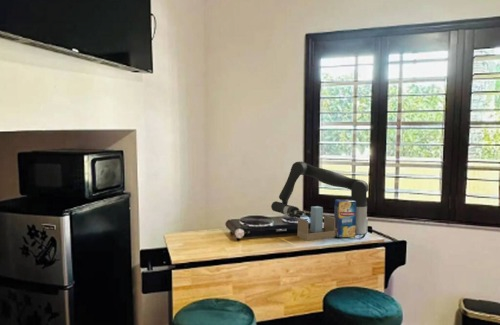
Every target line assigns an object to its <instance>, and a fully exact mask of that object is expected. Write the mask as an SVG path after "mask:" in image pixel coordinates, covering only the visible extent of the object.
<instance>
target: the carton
mask: <svg viewBox="0 0 500 325" xmlns="http://www.w3.org/2000/svg"><path fill="white" fill-rule="evenodd" d="M323 227H324V228H322V232H319V233H310V228H309V220H306V219H303V218H301V217H300V218H297V232H296V233H297V238H300V239H301V240H304V241H306V242H310V241H316V240H325V239H333V238H336V235H335V218H334V217H331V216H329V215H324V214H323Z"/></svg>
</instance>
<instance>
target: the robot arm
mask: <svg viewBox="0 0 500 325" xmlns="http://www.w3.org/2000/svg"><path fill="white" fill-rule="evenodd" d="M300 176H305V177H306V176H307V177H311V178H313V179H315V180H317V181H318V182H320V183H323V184H325V185H327V186H332V187H337V188H344V189H347V190H350V192H351V196H350V197H351V198H350V200H354V201H356V226H355V235H366V234H367V233H368V225H369V224H368V223H369V222H368V221H369V219H368V213H367V212H368V201H367V193H368V191H369V189H370V188H369V184H368V182H366V181H365V180H363V179H358V178H357V179H356V178H352V177H349V176H346V175H344V174H341V173H338V172H335V171H333V170H330V169H327V168H326V169H325V168H321V167H317V166H313V165H311V164H309V163H307V162H304V161H295V162H293V163H292V166H291V168H290V172H289V174H288V177H287V179H286V180H285V184H284V186H282V190H281V191H280V194H279V196H278V198H279V199H280V201H281V202H280V201H278V200H277V201H276V200H275V201H273V202H272V203H271V206H270V207H271V210H272V211H273V212H277V213H279V214H282V215H285V216H286V217H289V218H292V219H298V218H301V217H309V218H311V211H308V210H301V209H300V208H299V206H294V205H291V204H288V202H289V199H290V198H291V196H292V194H293V191H294V188H295V185H296V182H297V180H298V179H299V178H300ZM293 217H295V218H293ZM296 217H297V218H296Z"/></svg>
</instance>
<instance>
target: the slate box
mask: <svg viewBox="0 0 500 325" xmlns="http://www.w3.org/2000/svg"><path fill="white" fill-rule="evenodd" d="M310 213H311V217H310V228H309V229H310V233H319V232H322V227H323V224H324V214H323V213H324V207H323V206H319V205H316V206H310Z"/></svg>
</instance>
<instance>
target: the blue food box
mask: <svg viewBox="0 0 500 325" xmlns="http://www.w3.org/2000/svg"><path fill="white" fill-rule="evenodd" d="M333 214H334V217H333V218H335V237H337V238H356V234H355V226H356V201H354V200H351V199H334V213H333Z"/></svg>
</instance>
